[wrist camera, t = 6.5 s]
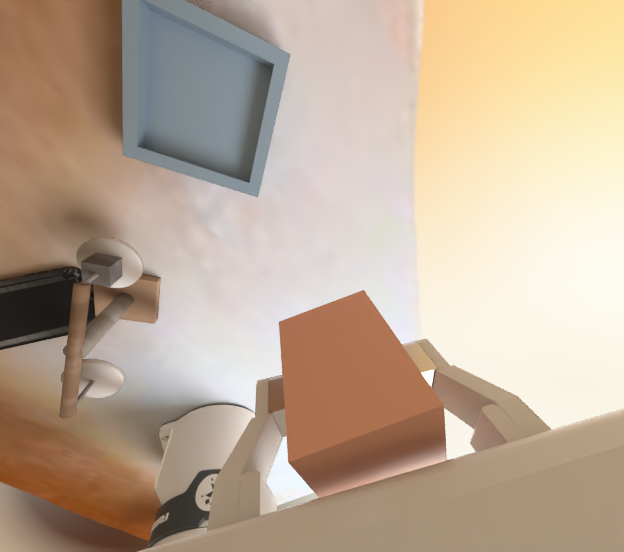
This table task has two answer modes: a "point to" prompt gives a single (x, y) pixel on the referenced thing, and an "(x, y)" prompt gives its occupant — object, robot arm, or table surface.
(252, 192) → the dish
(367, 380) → the terracotta block
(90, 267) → the tipped balance
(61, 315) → the phone
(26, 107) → the table surface
